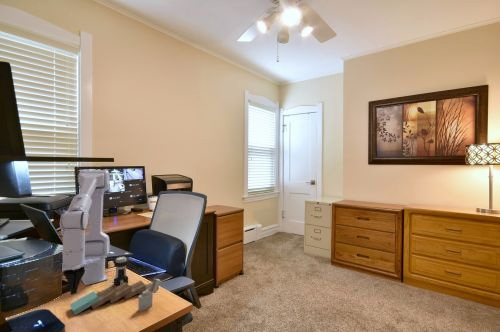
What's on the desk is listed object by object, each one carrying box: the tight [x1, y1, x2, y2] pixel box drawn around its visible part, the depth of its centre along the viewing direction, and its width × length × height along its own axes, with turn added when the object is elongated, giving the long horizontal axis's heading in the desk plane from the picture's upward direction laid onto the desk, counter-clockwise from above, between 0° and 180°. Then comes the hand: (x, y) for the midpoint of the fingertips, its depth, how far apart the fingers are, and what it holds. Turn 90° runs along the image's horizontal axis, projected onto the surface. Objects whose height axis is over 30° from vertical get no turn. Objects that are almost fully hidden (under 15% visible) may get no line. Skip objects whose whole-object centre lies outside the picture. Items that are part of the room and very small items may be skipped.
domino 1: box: [69, 290, 99, 316], centre depth 85 cm, size 5×2×7 cm
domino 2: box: [137, 282, 160, 296], centre depth 98 cm, size 5×2×7 cm
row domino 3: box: [123, 280, 146, 300], centre depth 95 cm, size 5×2×7 cm
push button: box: [108, 256, 130, 287], centre depth 102 cm, size 7×5×10 cm
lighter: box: [137, 278, 161, 312], centre depth 87 cm, size 7×2×8 cm, turn 146°
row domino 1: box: [90, 286, 116, 310], centre depth 88 cm, size 5×2×7 cm
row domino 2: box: [108, 282, 132, 304], centre depth 92 cm, size 5×2×7 cm
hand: (73, 292), depth 83 cm, fingers closed
